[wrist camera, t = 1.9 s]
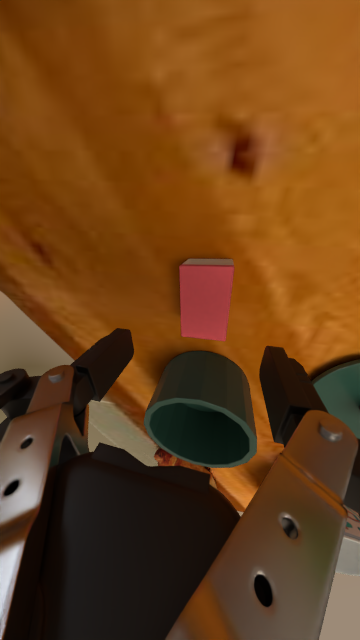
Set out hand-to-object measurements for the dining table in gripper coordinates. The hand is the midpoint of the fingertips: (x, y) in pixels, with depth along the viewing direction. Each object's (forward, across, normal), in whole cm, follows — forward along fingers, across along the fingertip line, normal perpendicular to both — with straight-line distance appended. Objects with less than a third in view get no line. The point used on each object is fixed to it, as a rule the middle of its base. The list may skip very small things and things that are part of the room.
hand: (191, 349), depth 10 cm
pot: (+10, 0, +14) cm, 17 cm away
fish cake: (+10, 0, 0) cm, 10 cm away
